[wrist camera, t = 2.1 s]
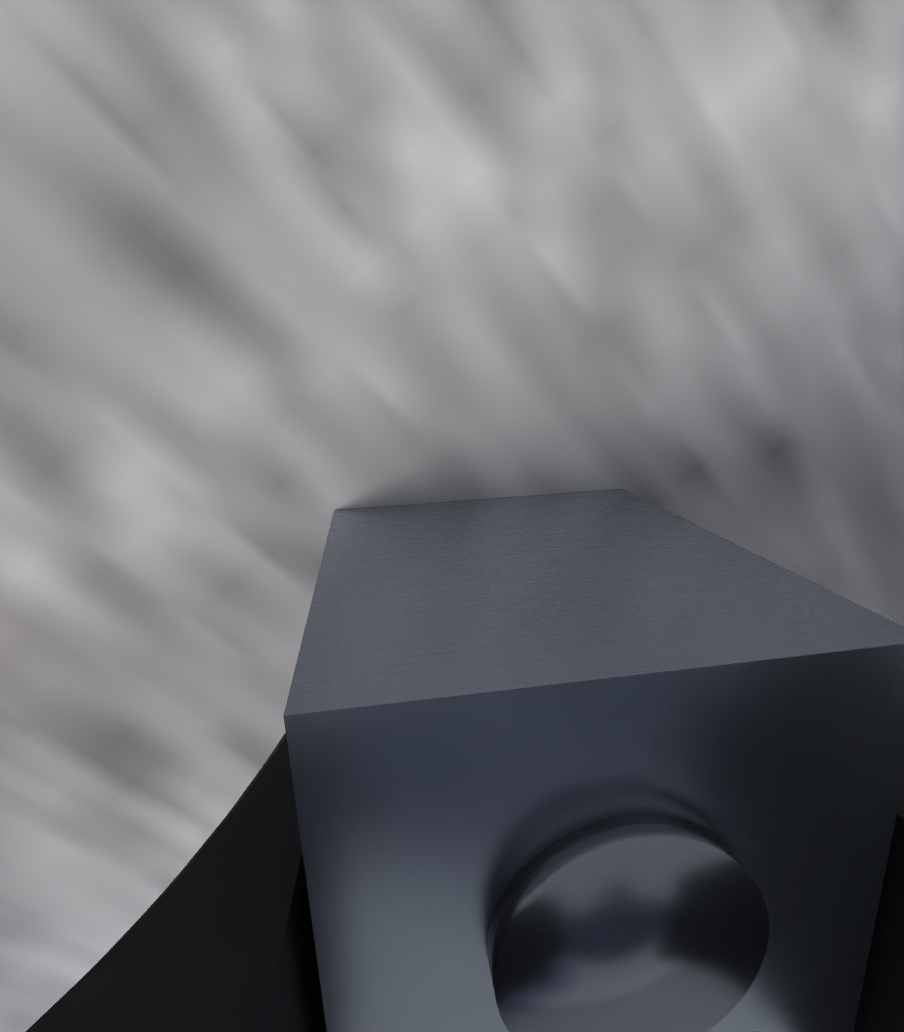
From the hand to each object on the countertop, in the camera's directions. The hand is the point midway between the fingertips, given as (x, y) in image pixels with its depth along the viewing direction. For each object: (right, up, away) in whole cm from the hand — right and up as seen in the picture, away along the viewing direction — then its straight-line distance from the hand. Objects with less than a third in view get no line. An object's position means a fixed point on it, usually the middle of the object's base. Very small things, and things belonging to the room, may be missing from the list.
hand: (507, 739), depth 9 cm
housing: (0, 0, +1) cm, 1 cm away
